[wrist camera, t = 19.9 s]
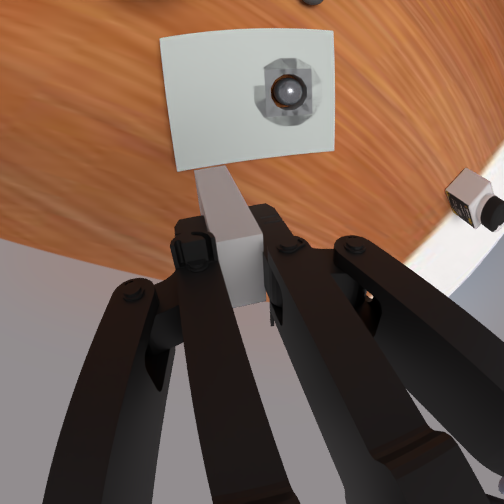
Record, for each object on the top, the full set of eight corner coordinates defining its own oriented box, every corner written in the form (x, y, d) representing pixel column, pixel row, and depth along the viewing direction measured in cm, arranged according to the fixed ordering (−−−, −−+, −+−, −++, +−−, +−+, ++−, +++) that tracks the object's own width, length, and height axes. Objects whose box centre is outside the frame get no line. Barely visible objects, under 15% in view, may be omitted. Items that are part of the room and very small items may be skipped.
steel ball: (270, 104, 36) (281, 110, 34) (267, 77, 34) (279, 81, 32) (295, 100, 37) (308, 106, 35) (293, 74, 35) (307, 78, 32)
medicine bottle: (443, 189, 51) (488, 220, 41) (465, 166, 49) (510, 193, 40) (452, 212, 55) (492, 243, 45) (473, 190, 53) (514, 218, 44)
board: (176, 165, 38) (177, 171, 36) (160, 40, 29) (159, 38, 27) (325, 145, 41) (334, 150, 39) (324, 31, 32) (333, 30, 30)
